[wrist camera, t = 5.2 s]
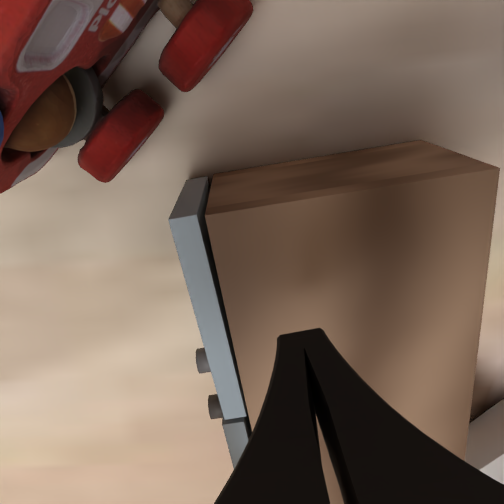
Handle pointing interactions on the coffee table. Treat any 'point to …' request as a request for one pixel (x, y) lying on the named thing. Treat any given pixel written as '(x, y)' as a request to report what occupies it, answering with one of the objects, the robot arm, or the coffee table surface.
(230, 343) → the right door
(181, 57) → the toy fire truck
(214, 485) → the coffee table surface
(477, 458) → the figurine
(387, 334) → the cabinet
